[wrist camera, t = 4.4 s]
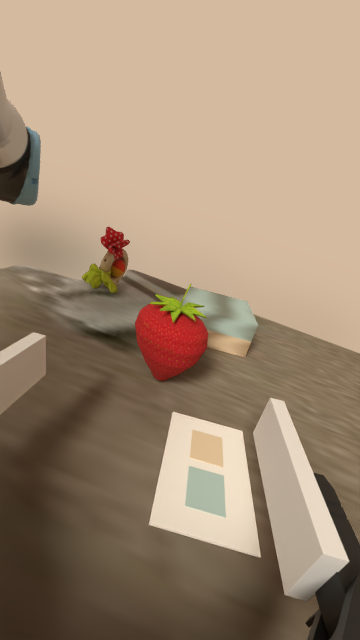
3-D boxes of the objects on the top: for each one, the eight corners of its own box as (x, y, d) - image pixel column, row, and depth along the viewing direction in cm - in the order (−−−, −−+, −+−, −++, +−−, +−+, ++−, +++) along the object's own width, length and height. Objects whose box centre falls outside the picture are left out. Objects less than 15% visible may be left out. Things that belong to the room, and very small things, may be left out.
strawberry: (158, 352, 28) (176, 270, 24) (205, 390, 23) (238, 297, 19) (114, 365, 23) (127, 268, 19) (161, 415, 19) (191, 303, 15)
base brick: (173, 338, 32) (181, 304, 30) (182, 313, 41) (189, 286, 39) (244, 357, 31) (258, 324, 29) (237, 327, 40) (247, 301, 38)
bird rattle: (98, 290, 47) (72, 281, 38) (115, 239, 47) (93, 217, 38) (126, 299, 46) (106, 292, 37) (143, 247, 47) (127, 227, 38)
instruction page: (148, 524, 12) (149, 523, 12) (172, 412, 19) (172, 411, 19) (260, 558, 12) (261, 556, 12) (241, 431, 19) (242, 430, 19)
